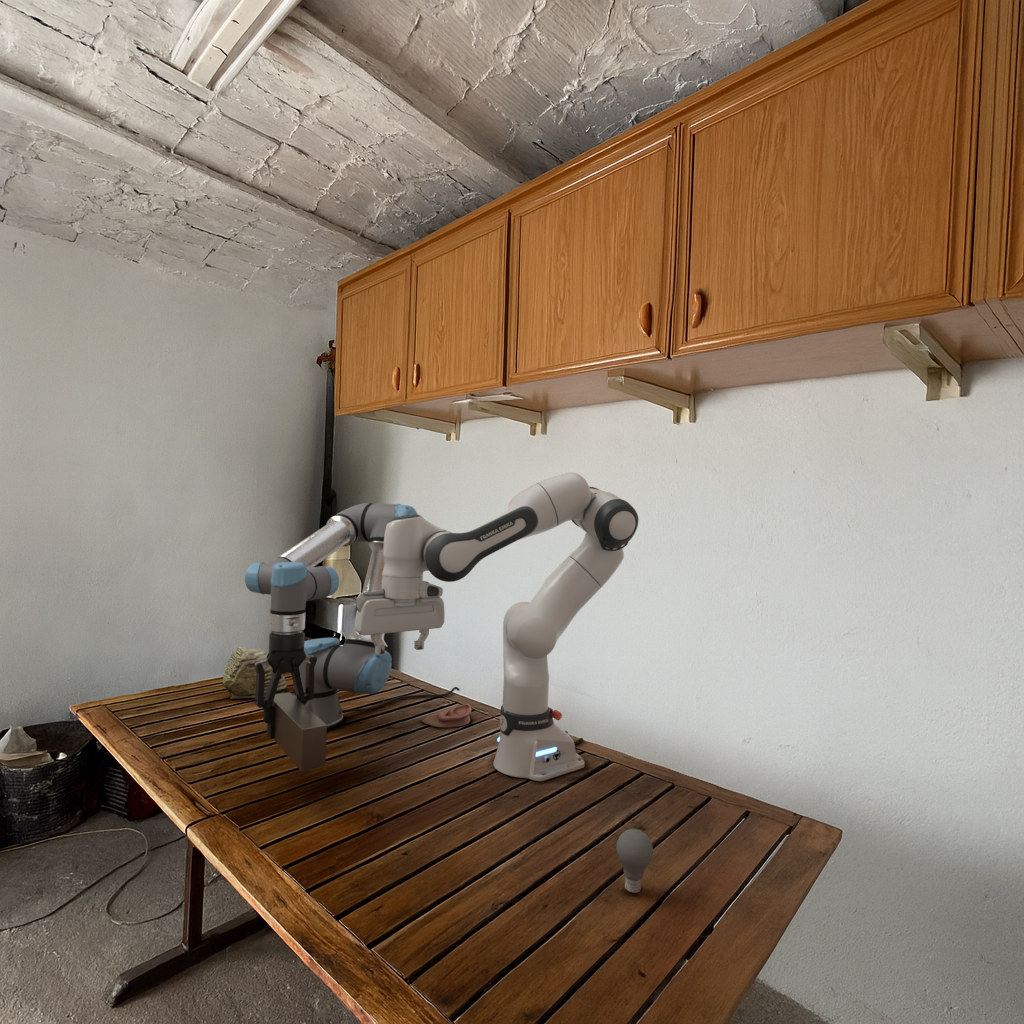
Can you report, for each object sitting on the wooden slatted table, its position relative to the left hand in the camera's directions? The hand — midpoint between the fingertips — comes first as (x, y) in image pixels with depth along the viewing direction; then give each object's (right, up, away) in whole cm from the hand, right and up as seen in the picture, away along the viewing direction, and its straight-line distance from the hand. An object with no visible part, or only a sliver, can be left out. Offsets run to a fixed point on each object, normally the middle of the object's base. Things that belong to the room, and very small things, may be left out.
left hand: (283, 733), depth 143 cm
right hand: (+27, +19, -4) cm, 33 cm away
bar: (+5, -1, -6) cm, 8 cm away
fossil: (-29, -7, +55) cm, 63 cm away
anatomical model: (+33, -10, +39) cm, 52 cm away
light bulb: (+72, -13, -37) cm, 82 cm away
